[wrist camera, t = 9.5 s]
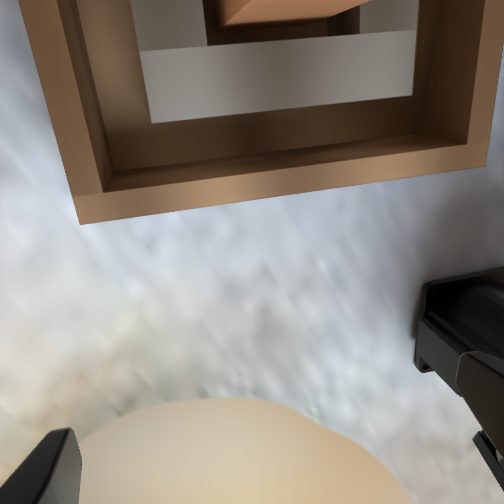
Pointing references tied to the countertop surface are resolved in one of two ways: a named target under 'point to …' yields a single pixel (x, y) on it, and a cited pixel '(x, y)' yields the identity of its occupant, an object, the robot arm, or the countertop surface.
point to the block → (275, 12)
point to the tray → (258, 138)
